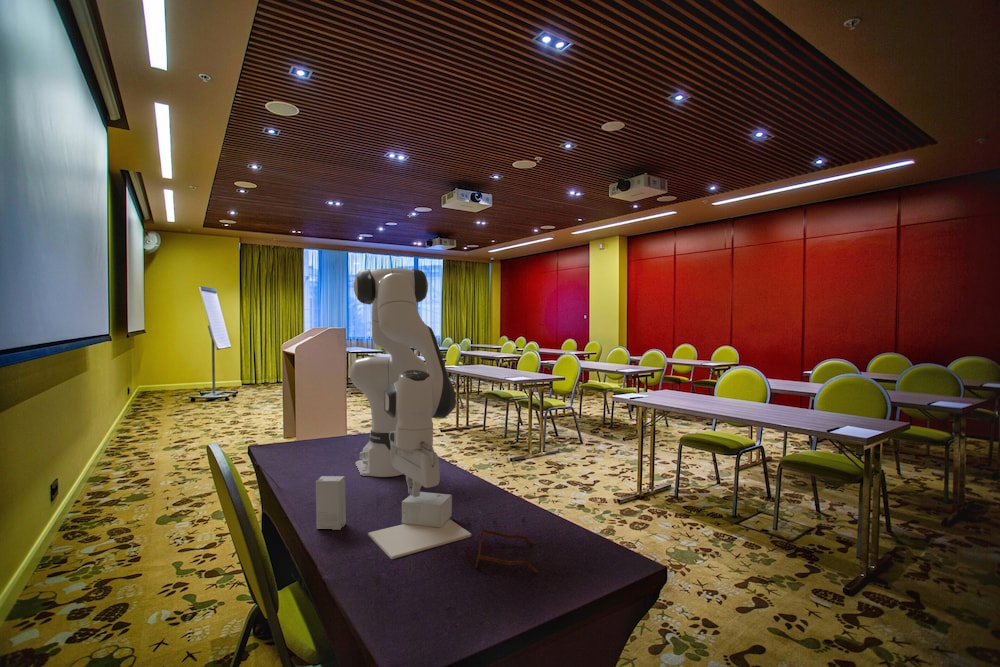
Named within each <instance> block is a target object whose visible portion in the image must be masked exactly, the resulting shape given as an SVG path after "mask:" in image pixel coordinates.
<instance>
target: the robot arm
mask: <svg viewBox="0 0 1000 667" xmlns="http://www.w3.org/2000/svg"><path fill="white" fill-rule="evenodd" d="M355 275H356V276H355V278H354V281H353V292H354V295H355V297H356V298H357V301H359V302H360V303H361V304H363V305H365V304H366V305H371V340H372V341H373V344H375V345H376V347H378V348H380V349H382V350H384V351H386V352H387V353H389V355H390V356H366V357H361V358H357V359H355V360H354V361H353V362H352V364H351V366H350V368H349V369H350V370H349V378H350V381H351V383H352V384H353V385H354V386H355V387H356V389H358V390H359V391H360V392H362V393H363V394H364V396H365V398H366V399H367V401H368V404H369V406H370V412H371V429H370V432H369V441H367V443H366V445H365V446H364V447H363V448H362V451H360V452H359V455H358V456H359V459H360V460H357V461H355V467H356V466H357V467H356V469H357V468H358V469H357V470H359V471H358V472H360V473H359V474H360V476H361V475H362V476H363V477H379V478H387V477H388V478H389V477H398V476H401V475H404V476H405V481H406V484H407V493H408V495H409V496H410V495H412V496H413V497H419V496H420V492H421V489H422V487H423V488H425V489H427V488H433V487H437V486H438V485H439V484H440V482H441V478H440V477H441V475H440V472H441V470H440V460H439V455H438V454H437V452H436V451H435V450H434V447H433V445H434V422H433V418H434V419H445V418H446V417H447V416H449V415H450V414H451V413H452V412H453V410H454V409H455V408H456V405H457V395H456V391H455V389H454V386H453V384H452V381H451V379H450V378H449V375H448V372H447V368H446V364H445V363H444V362H445V361H444V359H443V355H442V352H441V349H440V346H439V344H438V341H437V337H436V336H435V332H434V331H433V329H432V327H430V326H428V324H426V323H425V322H424V321H423V319H422V317H421V315H420V313H419V310H418V303H420V302H423V301H424V300H425V299H426V298H427V294H428V292H429V283H428V282H429V281H428V279H427V275H426V274H425V272H424V271H423V270H421V269H417V268H412V269H408V268H401V267H391V268H375V269H370V268H368V269H363V270H360V271H358V272H357V273H356V274H355ZM412 349H414V350H416V351H417V352H418V353H420V354H421V355H422V357H423V359H424V360H423V359H422V358H420V357H419V356H418V355H417V354H416V353H414V351H413V350H412ZM362 476H361V477H362Z"/></svg>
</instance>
